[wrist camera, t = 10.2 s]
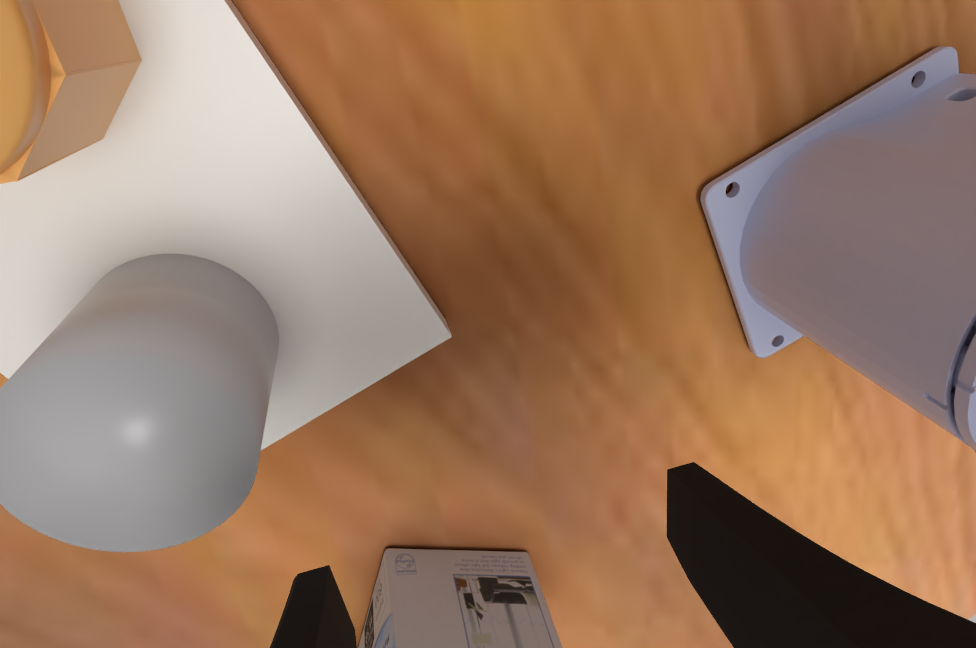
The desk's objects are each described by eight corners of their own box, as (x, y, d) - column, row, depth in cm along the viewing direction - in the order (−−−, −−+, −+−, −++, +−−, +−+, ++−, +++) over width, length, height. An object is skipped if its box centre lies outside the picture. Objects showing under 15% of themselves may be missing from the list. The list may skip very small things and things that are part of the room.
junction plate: (20, -313, 12) (-291, -646, 6) (446, 320, 20) (490, 441, 14) (-422, -18, 12) (-1120, -55, 6) (176, 481, 21) (112, 662, 15)
